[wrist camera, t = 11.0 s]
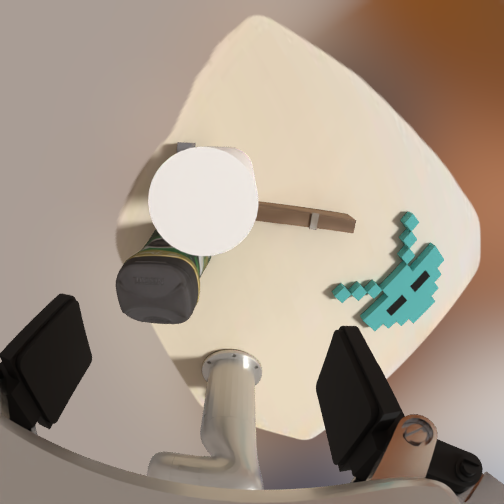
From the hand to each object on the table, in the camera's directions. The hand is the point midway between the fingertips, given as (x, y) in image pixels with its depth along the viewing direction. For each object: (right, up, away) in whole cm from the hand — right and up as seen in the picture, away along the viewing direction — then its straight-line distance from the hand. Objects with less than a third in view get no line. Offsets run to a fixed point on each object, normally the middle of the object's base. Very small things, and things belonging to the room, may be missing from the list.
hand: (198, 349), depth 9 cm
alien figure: (+30, -2, +40) cm, 50 cm away
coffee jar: (-9, +5, +36) cm, 37 cm away
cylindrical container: (-2, +16, +32) cm, 35 cm away
